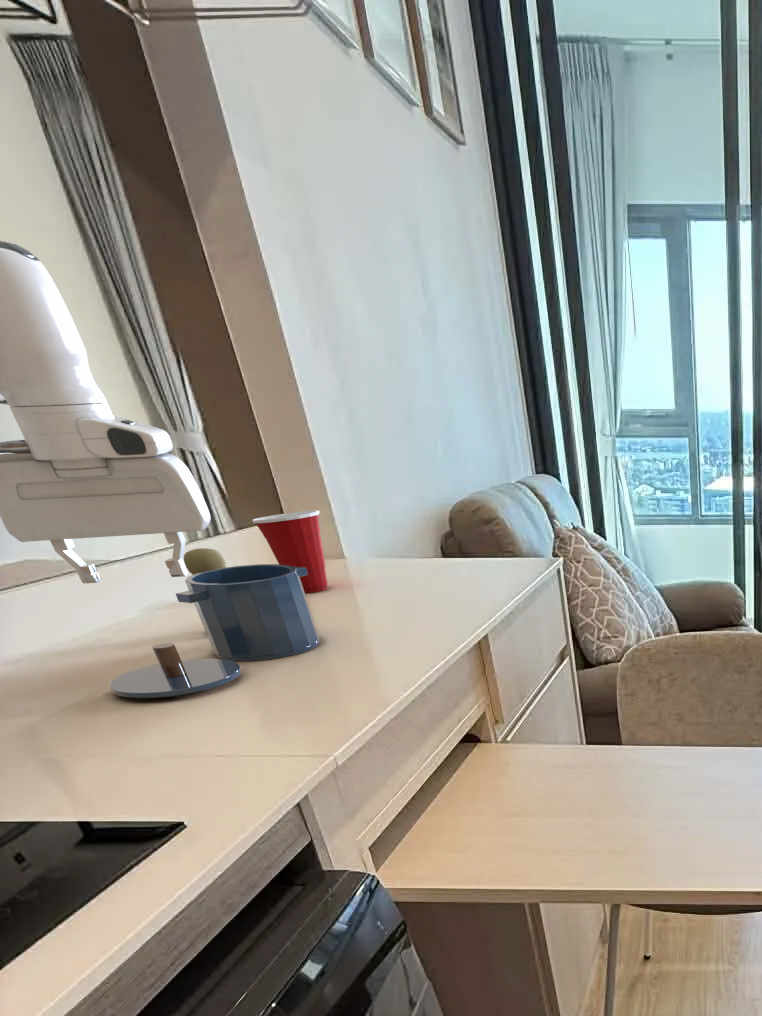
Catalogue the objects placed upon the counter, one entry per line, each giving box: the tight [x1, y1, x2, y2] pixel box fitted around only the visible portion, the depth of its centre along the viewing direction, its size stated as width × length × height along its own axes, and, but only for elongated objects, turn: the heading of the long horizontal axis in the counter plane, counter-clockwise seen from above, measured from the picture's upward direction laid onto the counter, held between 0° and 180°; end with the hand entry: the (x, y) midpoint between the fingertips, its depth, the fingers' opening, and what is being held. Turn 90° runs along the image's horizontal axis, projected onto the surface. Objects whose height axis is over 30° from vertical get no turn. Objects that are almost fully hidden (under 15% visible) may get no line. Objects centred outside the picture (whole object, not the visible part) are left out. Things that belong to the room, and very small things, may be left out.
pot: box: [175, 563, 321, 662], centre depth 118 cm, size 14×19×10 cm
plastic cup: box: [251, 509, 328, 594], centre depth 148 cm, size 11×11×12 cm
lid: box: [108, 642, 242, 699], centre depth 106 cm, size 15×15×5 cm
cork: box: [183, 547, 227, 575], centre depth 125 cm, size 6×6×11 cm
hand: (136, 579), depth 100 cm, fingers open, 8 cm apart
